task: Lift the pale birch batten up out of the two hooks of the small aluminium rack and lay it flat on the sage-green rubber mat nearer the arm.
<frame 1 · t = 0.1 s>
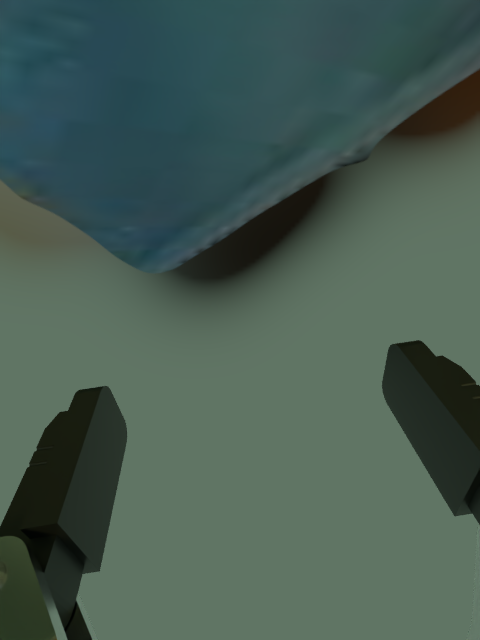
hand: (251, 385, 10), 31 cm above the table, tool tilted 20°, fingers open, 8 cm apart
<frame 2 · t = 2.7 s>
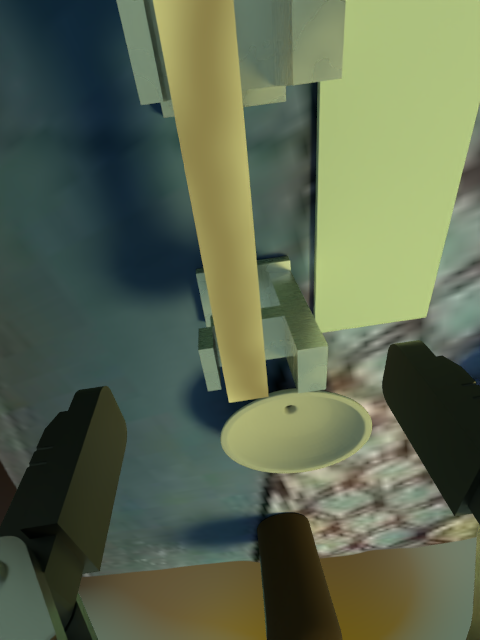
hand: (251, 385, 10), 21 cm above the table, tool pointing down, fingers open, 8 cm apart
birch batten: (224, 230, 21), point 8 cm above the table, touching hook rack
dish: (288, 402, 42), on the table
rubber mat: (387, 173, 28), on the table
olive oil: (282, 524, 61), on the table
hook rack: (218, 197, 27), on the table
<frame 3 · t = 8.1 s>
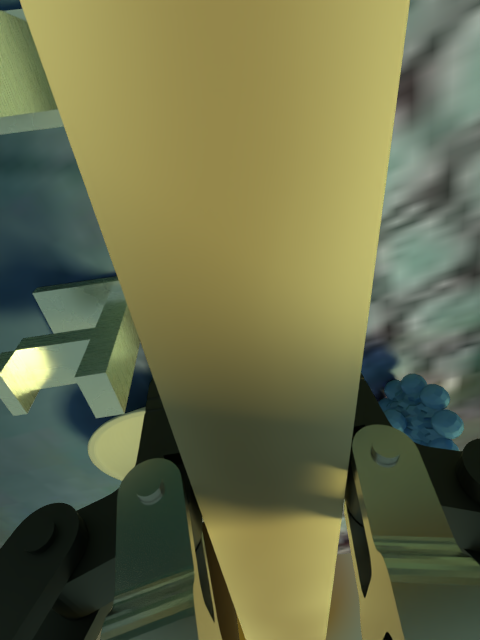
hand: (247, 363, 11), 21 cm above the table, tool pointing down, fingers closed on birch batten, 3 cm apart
birch batten: (254, 396, 9), point 22 cm above the table, touching gripper
dish: (172, 415, 42), on the table
olive oil: (200, 533, 60), on the table
hook rack: (40, 217, 27), on the table
grapes: (382, 382, 43), on the table
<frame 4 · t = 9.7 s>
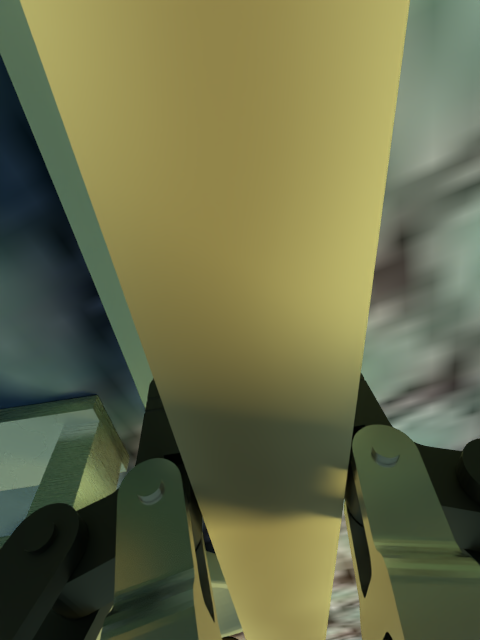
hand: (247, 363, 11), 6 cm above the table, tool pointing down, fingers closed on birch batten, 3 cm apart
birch batten: (254, 395, 9), point 7 cm above the table, touching gripper
dish: (170, 545, 30), on the table
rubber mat: (234, 278, 16), on the table
when the fingers open (2 cm above the table, at t = 11.3 s): birch batten drops 2 cm, resting on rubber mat.
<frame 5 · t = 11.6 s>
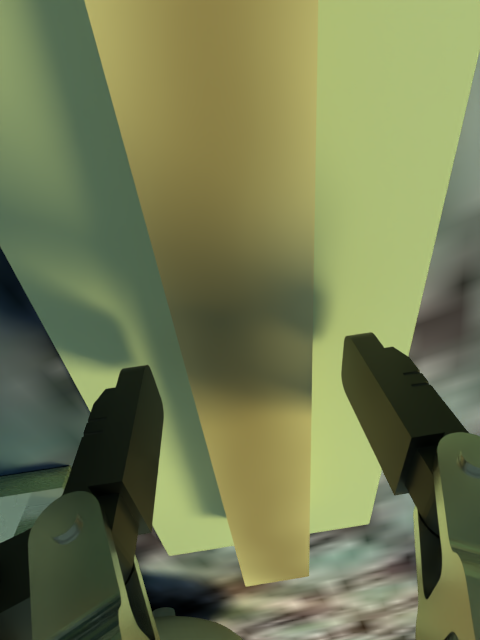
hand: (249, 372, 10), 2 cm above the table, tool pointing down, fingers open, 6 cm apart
birch batten: (243, 342, 11), point 1 cm above the table, touching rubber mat
dish: (163, 607, 27), on the table
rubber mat: (242, 332, 12), on the table
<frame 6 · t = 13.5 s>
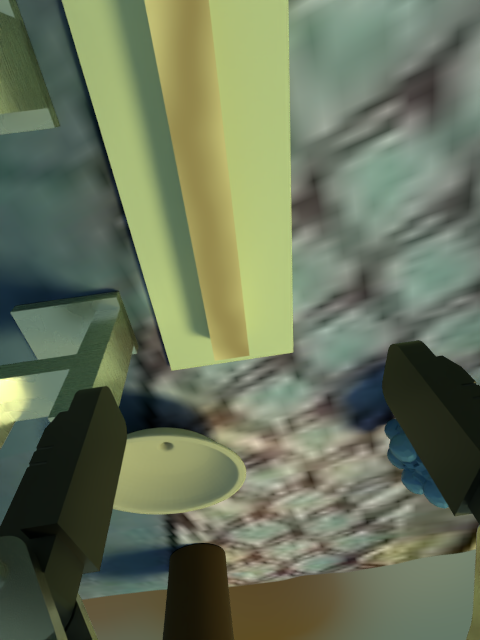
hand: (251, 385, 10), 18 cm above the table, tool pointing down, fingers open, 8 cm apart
birch batten: (209, 206, 24), point 1 cm above the table, touching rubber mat
dish: (167, 437, 40), on the table
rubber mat: (209, 204, 25), on the table
olive oil: (197, 554, 58), on the table
hook rack: (17, 230, 24), on the table
grapes: (390, 402, 40), on the table
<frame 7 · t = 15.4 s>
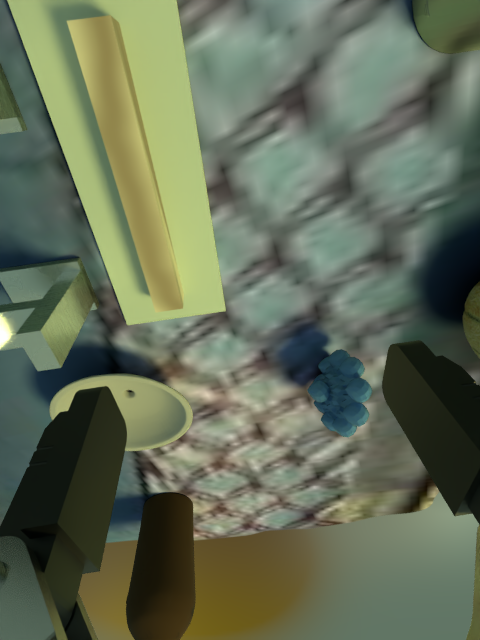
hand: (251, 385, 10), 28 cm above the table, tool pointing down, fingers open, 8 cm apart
birch batten: (142, 189, 32), point 1 cm above the table, touching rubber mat
dish: (130, 387, 48), on the table
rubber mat: (143, 188, 33), on the table
olive oil: (168, 504, 66), on the table
grapes: (318, 359, 48), on the table
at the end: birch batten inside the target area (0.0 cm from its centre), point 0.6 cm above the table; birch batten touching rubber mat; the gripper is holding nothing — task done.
